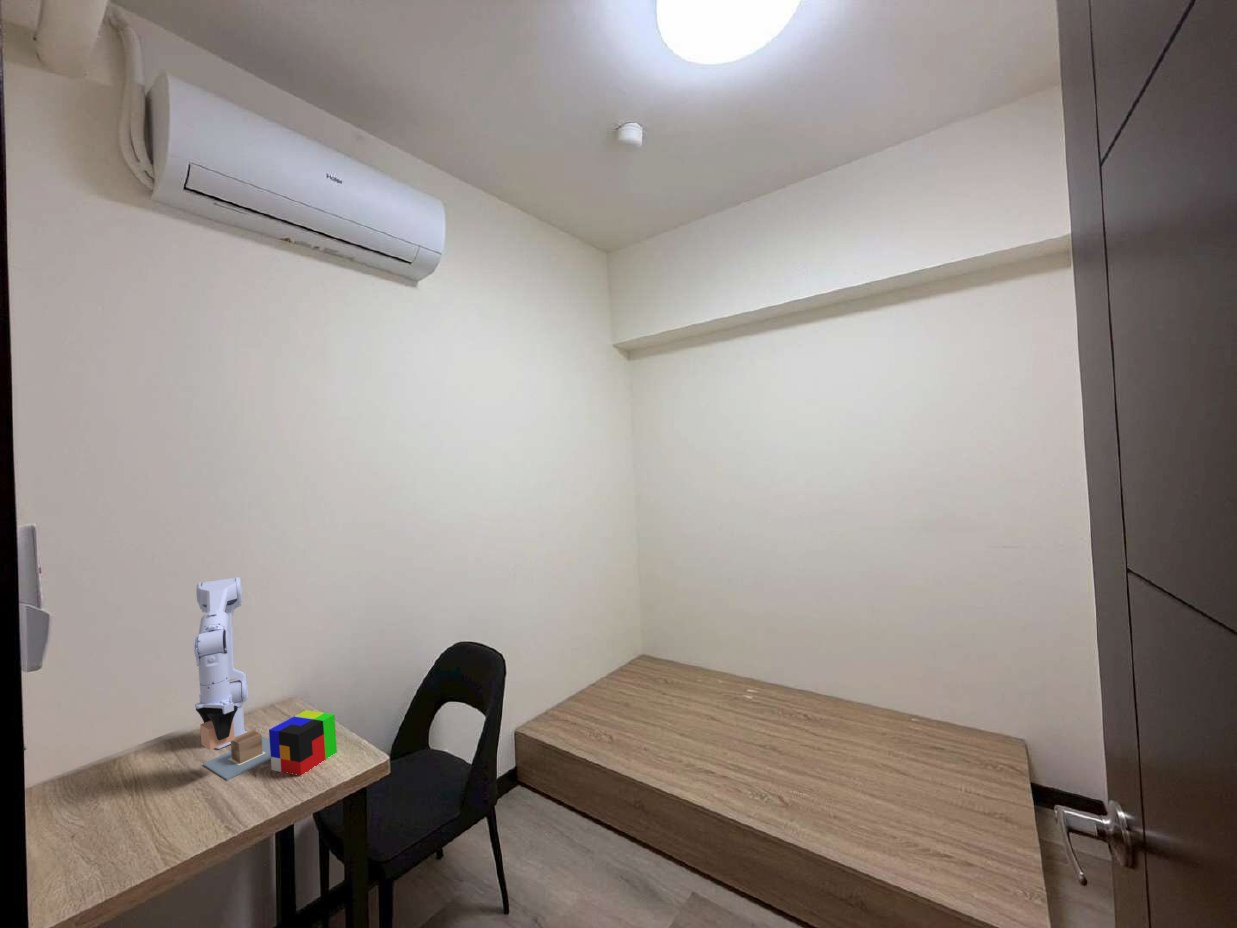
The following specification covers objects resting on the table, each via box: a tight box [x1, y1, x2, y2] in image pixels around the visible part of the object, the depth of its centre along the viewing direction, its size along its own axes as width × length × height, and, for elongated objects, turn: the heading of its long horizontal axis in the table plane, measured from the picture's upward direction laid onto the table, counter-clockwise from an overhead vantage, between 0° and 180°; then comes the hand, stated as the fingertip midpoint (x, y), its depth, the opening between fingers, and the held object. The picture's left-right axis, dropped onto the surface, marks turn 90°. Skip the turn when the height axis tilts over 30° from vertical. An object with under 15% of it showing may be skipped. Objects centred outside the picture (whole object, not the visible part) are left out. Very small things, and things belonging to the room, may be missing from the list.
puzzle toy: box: [268, 710, 338, 776], centre depth 130 cm, size 10×10×10 cm
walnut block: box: [230, 729, 263, 764], centre depth 133 cm, size 5×5×5 cm
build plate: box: [202, 736, 271, 781], centre depth 133 cm, size 14×14×1 cm
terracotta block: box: [199, 720, 235, 751], centre depth 126 cm, size 5×5×5 cm
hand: (218, 735), depth 127 cm, fingers closed on terracotta block, 5 cm apart
